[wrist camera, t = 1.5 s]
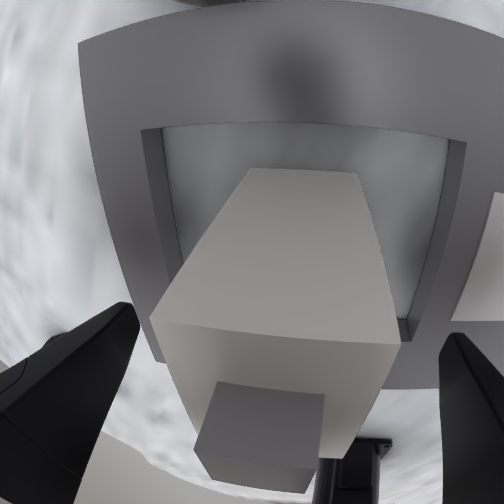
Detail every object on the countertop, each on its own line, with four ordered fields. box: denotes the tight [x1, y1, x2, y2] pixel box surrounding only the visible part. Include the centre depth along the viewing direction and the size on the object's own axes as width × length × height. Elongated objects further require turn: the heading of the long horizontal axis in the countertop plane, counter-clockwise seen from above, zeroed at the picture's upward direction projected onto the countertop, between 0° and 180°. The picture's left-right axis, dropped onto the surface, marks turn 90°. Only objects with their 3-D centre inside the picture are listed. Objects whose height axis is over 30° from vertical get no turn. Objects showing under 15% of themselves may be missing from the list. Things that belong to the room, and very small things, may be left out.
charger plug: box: [149, 168, 401, 494], centre depth 8 cm, size 5×4×10 cm
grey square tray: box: [78, 0, 504, 389], centre depth 11 cm, size 17×22×2 cm
